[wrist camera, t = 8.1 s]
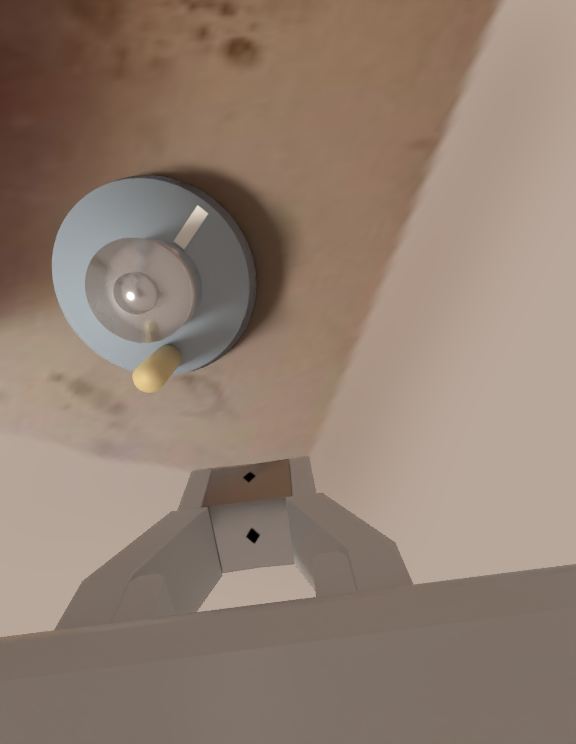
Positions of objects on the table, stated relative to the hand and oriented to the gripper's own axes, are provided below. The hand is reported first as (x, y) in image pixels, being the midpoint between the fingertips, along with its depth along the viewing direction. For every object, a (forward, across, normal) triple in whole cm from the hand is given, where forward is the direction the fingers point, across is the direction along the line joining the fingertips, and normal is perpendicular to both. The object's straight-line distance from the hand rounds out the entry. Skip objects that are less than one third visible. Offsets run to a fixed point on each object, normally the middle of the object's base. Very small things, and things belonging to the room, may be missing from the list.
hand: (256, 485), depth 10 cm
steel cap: (+14, +6, -5) cm, 16 cm away
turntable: (+15, +6, -5) cm, 17 cm away
